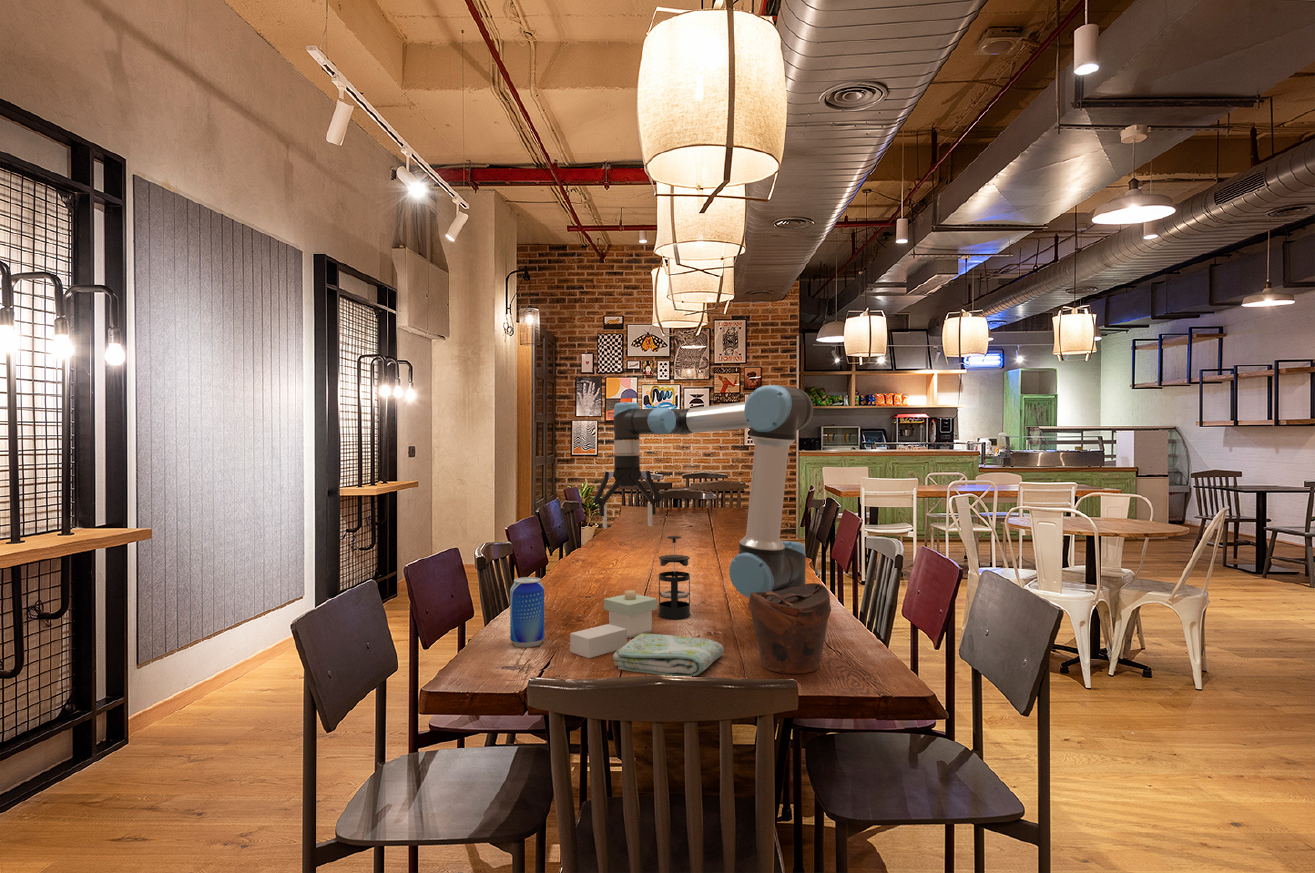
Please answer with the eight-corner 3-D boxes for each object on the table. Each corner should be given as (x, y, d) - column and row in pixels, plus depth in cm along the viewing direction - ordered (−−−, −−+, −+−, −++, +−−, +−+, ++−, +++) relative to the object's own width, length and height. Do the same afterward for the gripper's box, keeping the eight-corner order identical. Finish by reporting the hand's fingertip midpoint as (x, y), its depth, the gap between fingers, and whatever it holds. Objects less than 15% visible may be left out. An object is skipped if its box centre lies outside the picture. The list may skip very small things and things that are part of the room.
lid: (657, 609, 188) (657, 591, 188) (629, 616, 181) (629, 597, 181) (631, 603, 195) (631, 585, 195) (603, 609, 188) (603, 591, 188)
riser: (626, 647, 174) (626, 629, 174) (588, 658, 166) (588, 638, 166) (608, 641, 179) (608, 623, 179) (570, 651, 171) (570, 633, 171)
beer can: (540, 637, 184) (540, 575, 184) (547, 646, 176) (547, 581, 176) (507, 640, 181) (507, 577, 181) (513, 649, 173) (513, 584, 173)
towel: (641, 648, 175) (641, 627, 175) (725, 657, 167) (725, 635, 167) (610, 670, 158) (610, 647, 158) (701, 682, 150) (701, 658, 150)
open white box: (651, 631, 188) (651, 609, 188) (629, 638, 183) (629, 614, 183) (631, 626, 194) (631, 604, 194) (609, 632, 188) (609, 609, 188)
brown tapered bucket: (731, 670, 157) (732, 588, 157) (770, 648, 173) (771, 574, 173) (808, 687, 147) (810, 600, 147) (841, 662, 163) (842, 584, 163)
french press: (690, 620, 200) (690, 538, 200) (657, 620, 200) (656, 538, 200) (690, 610, 212) (690, 533, 212) (659, 610, 212) (658, 533, 212)
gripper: (664, 453, 217) (665, 523, 217) (583, 455, 211) (583, 526, 211) (670, 454, 210) (671, 526, 210) (586, 455, 204) (587, 529, 204)
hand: (627, 526), depth 210 cm, fingers open, 13 cm apart
